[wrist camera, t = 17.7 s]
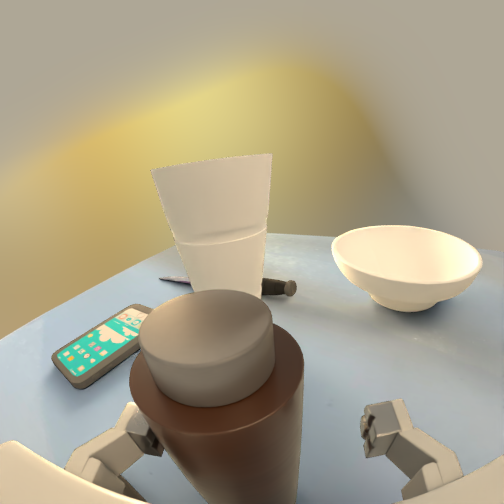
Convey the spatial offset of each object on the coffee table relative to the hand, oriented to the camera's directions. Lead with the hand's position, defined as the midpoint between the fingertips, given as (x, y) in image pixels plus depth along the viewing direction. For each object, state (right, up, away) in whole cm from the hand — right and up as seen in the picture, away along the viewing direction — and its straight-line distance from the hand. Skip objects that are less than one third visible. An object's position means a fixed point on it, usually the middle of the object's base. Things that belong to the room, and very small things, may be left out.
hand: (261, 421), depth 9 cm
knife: (-5, +1, +31) cm, 32 cm away
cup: (-2, -3, +20) cm, 20 cm away
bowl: (+19, +1, +22) cm, 29 cm away
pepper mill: (0, -8, +2) cm, 9 cm away
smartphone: (-17, -4, +19) cm, 26 cm away
